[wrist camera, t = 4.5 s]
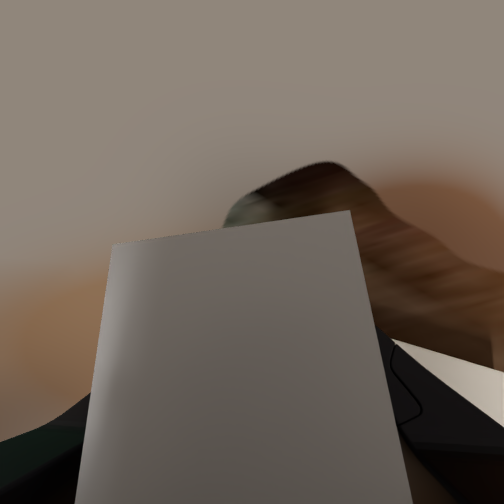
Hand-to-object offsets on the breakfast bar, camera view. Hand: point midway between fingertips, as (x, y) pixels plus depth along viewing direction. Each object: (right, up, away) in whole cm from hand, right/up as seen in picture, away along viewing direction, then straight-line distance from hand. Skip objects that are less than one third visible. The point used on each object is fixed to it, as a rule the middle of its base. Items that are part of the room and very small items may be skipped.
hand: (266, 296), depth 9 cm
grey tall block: (+2, -3, +6) cm, 7 cm away
